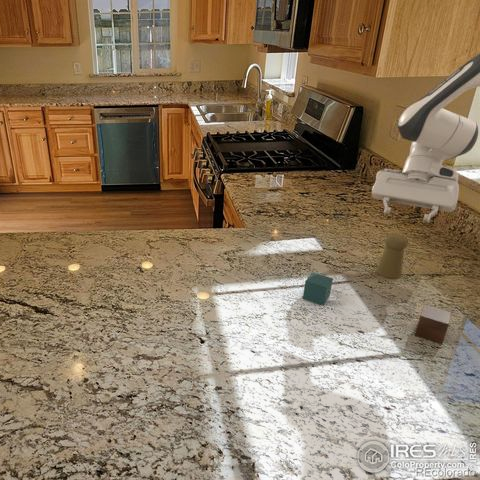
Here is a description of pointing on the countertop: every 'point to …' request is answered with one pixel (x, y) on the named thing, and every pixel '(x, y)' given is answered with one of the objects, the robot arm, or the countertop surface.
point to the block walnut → (433, 324)
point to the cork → (392, 256)
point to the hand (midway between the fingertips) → (405, 217)
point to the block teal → (317, 288)
